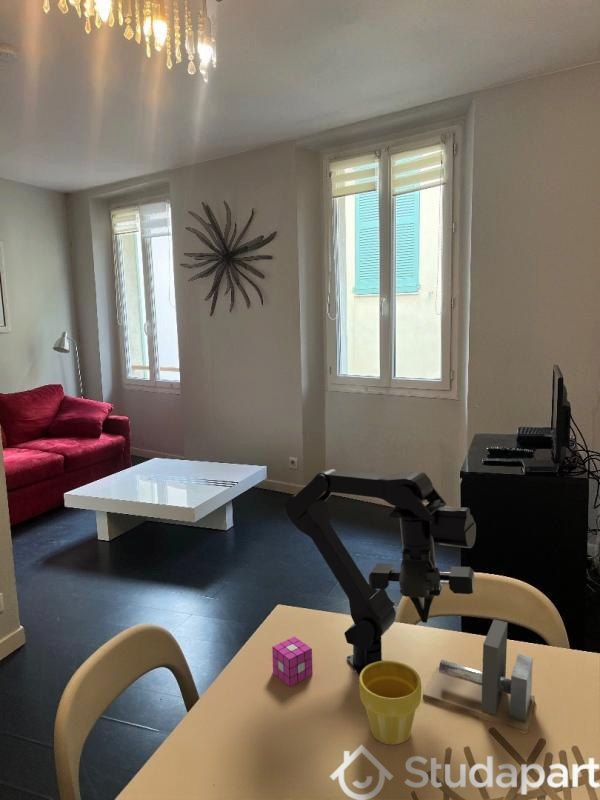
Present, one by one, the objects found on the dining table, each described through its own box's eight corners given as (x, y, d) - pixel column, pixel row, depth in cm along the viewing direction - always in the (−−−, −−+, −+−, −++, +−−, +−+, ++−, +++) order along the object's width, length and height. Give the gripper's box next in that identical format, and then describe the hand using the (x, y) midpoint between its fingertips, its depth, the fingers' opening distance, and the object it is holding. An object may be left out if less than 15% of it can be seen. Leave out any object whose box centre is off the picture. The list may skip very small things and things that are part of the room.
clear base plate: (422, 698, 102) (422, 693, 102) (436, 671, 110) (437, 666, 110) (527, 733, 93) (527, 727, 93) (534, 701, 101) (534, 695, 101)
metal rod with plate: (435, 694, 102) (435, 653, 101) (445, 672, 108) (446, 634, 106) (525, 723, 94) (526, 680, 93) (531, 698, 100) (532, 657, 99)
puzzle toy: (272, 672, 111) (271, 646, 110) (295, 661, 114) (294, 635, 113) (289, 687, 106) (289, 659, 105) (312, 675, 110) (312, 648, 109)
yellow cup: (348, 719, 97) (348, 668, 96) (399, 703, 101) (400, 653, 100) (378, 762, 88) (378, 706, 86) (433, 742, 91) (434, 688, 90)
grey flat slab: (481, 710, 97) (483, 644, 95) (491, 680, 104) (493, 619, 102) (495, 715, 95) (497, 648, 94) (505, 684, 103) (507, 622, 101)
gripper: (357, 555, 98) (366, 639, 99) (466, 559, 91) (474, 649, 93) (372, 534, 108) (379, 610, 110) (471, 536, 102) (478, 617, 103)
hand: (425, 621), depth 104 cm, fingers closed
